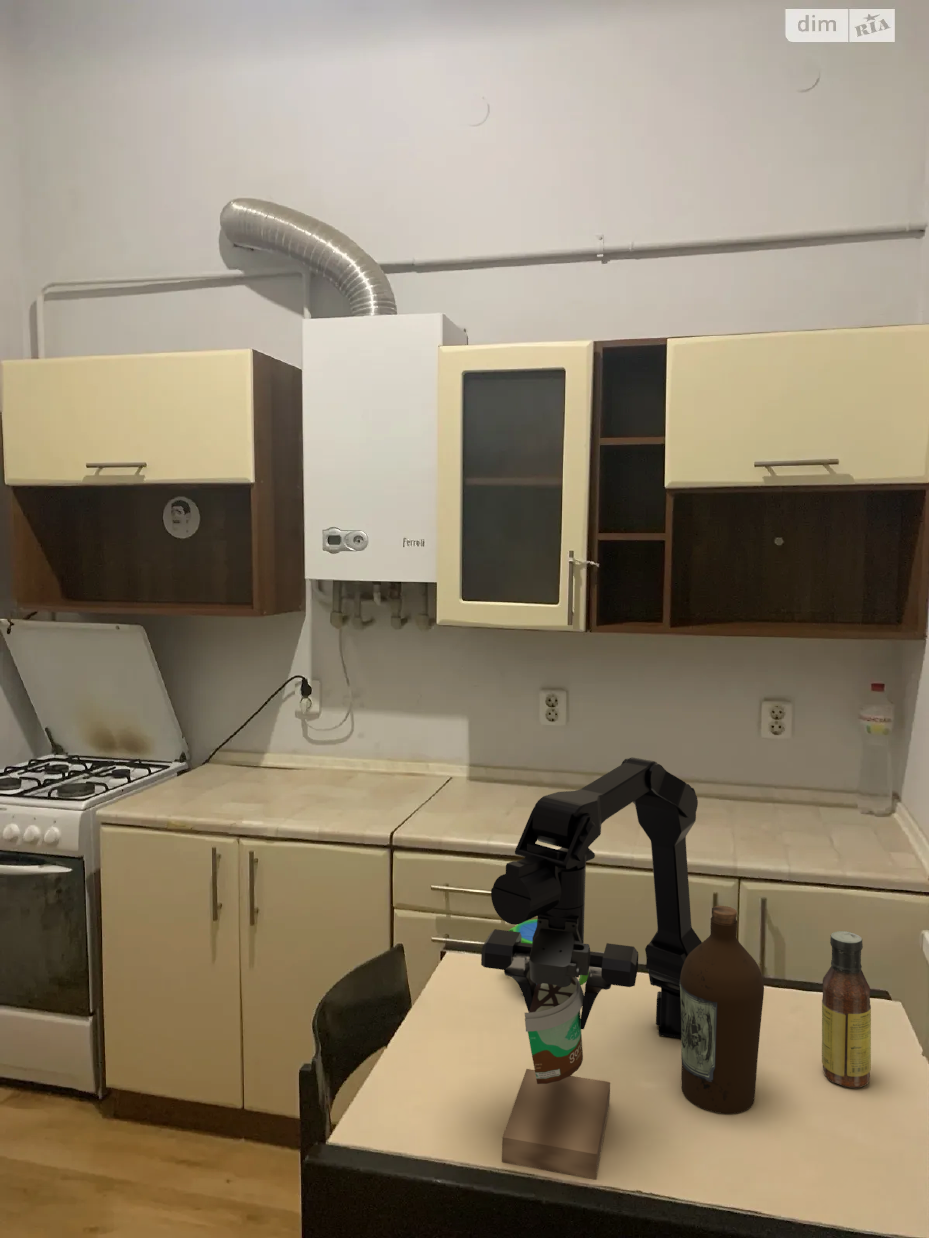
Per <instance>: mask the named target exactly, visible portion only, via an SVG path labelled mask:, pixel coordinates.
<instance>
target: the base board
mask: <svg viewBox="0 0 929 1238" xmlns="http://www.w3.org/2000/svg"><path fill="white" fill-rule="evenodd" d="M610 1094H611V1082H610V1081H605V1080H600V1079H599V1080H598V1079H593V1078H587V1077H581V1076H574V1075H571V1076H569V1077H567V1078H565V1079H563V1080H560V1081H557V1082H553V1083H548V1084H537V1080H536V1075H535V1069H531V1068H526V1070H525V1072H524V1074H523V1078H522V1081H521V1084H520V1085H519V1090H518V1092H517V1094H516V1098H515V1100H514V1103H513V1106H512V1109H511V1112H510V1115H509V1117H508V1121H507V1123H506V1126H505V1129H504V1132H503V1134H502V1137H501V1138H502V1139H501V1146H502V1147H501V1162H502V1163H505V1164H511V1165H517V1166H522V1167H528V1168H534V1169H538V1170H543V1171H544V1170H545V1171H549V1172H555V1173H560V1174H564V1175H571V1176H575V1177H581V1178H587V1179H592V1180H597V1178H598V1173H599V1172H598V1171H599V1165H600V1160H601V1153H602V1149H603V1143H604V1138H605V1131H606V1128H607V1122H608V1115H609V1109H610V1099H611V1097H610V1096H611V1095H610Z"/></svg>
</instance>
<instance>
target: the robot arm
mask: <svg viewBox="0 0 929 1238" xmlns="http://www.w3.org/2000/svg"><path fill="white" fill-rule="evenodd" d="M632 803H633V804H634V806H635V813H636V817H637V822H638V825H640V827H641V829H642V830H643V831H644V833H645V834H646V836H647V837H648V838H649V840H650V846H651V862H652V872H653V886H654V887H653V889H654V899H655V900H654V901H655V913H656V927H657V930H656V933H655V934H654V935H653V937H652V938H651V940H650V942H649V943H648V944H647V945H646V947H644V950H645V956H646V964H645V970H647V972H648V978H649V984H650V985H651V986H654V987H658V988H660V991H657V993H656V1007H655V1008H656V1009H655V1024H656V1026H658V1035H659V1036H663V1037H668V1038H669V1037H670V1038H676V1039H681V998H680V976H681V970H682V967H683V964H684V962H685V959H686V958H687V956H688V955H689V953H690V952H691V951H692V950H694V949H695V948H696V947H697V946H698V945H700V944H701V943H702V942H703V941H702V940H701V938H700V937H699V936H698V935H697V933H696V932H695V930H694V929H693V928H692V927H693V926H692V915H691V901H690V886H689V885H690V884H689V869H688V868H689V867H688V855H687V842H686V841H687V840H686V839H687V838H686V837H687V836H688V834H689V832H690V830H691V829H692V827H693V826H694V824H695V822H696V820H697V810H698V803H699V801H698V796H697V794H696V790H695V788H694V787H692V786H691V785H690V784H689V783H687V782H685V781H684V780H682V779H680V778H679V777H677V776H676V775H674V774H672V773H670V772H669V771H667V770H666V769H665V768H664V766H663V765H661V764H660V763H658V762H657V761H655V760H650V759H649V760H648V759H643V758H638V757H628V758H625V759H624V760H622V762H621V764H620V765H619V766H616V767H615V768H614V769H612V770H610V771H609V772H607V773H605V774H603V775H602V776H600V777H599V778H596V779H595V780H593V781H591V782H590V783H589V784H587V785H585V786H583V787H582V788H580V789H576V790H567V791H557V792H554V793H550V794H546V795H543V796H542V797H541V798H540V799H538V800H537V801H536V803H534V807H533V808H532V810H531V812H530V815H529V817H528V819H527V822H526V823H525V824H526V825H525V826H524V829H523V831H522V834H521V835H520V838H519V840H518V843H517V845H516V847H515V850H514V855H516V856H519V857H522V859H520V860H517V861H516V860H512V861H510V862H507V863H506V865H505V873H504V874H502V875H499V876H498V877H497V878H496V879H495V881H494V883H493V886H492V887H491V891H490V897H491V903H492V907H493V908H494V910H495V912H496V914H497V915H498V917H499V918H500V919H501V920H502V921H504V922H506V923H507V924H509V925H514V926H516V925H518V924H521V923H523V922H525V921H528V920H533V919H534V918H535V917H536V918H537V919H538V920H537V928H536V930H535V933H534V935H533V940H532V944H529V943H521V938H522V936H521V933H520V932H513V931H508V930H505V929H497V928H496V929H493V930H492V931H491V932H490V933H489V935H488V936H487V938H486V940H485V941H484V943H483V944H482V947H481V954H480V957H481V961H480V965H481V966H482V967H483V968H487V969H494V970H500V971H501V970H502V971H503V973H504V975H505V976H507V977H511V978H513V980H514V981H515V982H516V983H517V985H518V987H519V989H520V991H521V993H522V996H523V1000H524V1003H525V1006H526V1009H527V1011H528V1012H527V1013H529V1010H530V1007H531V1003H532V999H533V994H534V990H535V988H536V984H542V983H545V984H552V985H557V986H558V987H567V986H569V985H570V984H571V982H572V977H576V978H577V979H579V978H580V975H585V976H587V975H588V977H587V981H586V982H585V983H584V984H585V986H584V1000H583V1006H582V1008H581V1012H580V1018H581V1030H585V1027H586V1025H587V1022H588V1018H589V1016H590V1014H591V1010H592V1008H593V1005H594V1003H595V1001H596V998H597V997H598V996H599V993H600V992H601V991H602V990H604V991H605V990H606V991H607V990H609V989H611V987H612V986H618V987H626V988H631V987H635V986H636V982H637V981H636V980H637V976H638V969H639V952H638V950H637V949H636V948H635V946H632V945H624V944H618V943H617V944H616V943H608V942H606V945H605V948H604V951H599V950H598V951H591V948H590V944H589V943H585V942H584V941H585V940H584V939H585V909H586V907H585V905H586V902H585V901H586V876H587V875H586V873H587V870H586V869H587V862H589V861H591V860H594V858H595V857H596V853H595V852H593V850H592V849H590V848H589V847H590V846H591V845H592V844H593V843H594V842H595V841H596V840H597V839H598V838H599V837H600V836H601V833H602V824H603V823H604V822H605V821H606V820H608V819H610V818H611V817H613V816H614V815H615V814H617V813H619V812H620V811H621V810H623V809H624V808H626V807H627V806H629V805H630V804H632ZM537 841H538V842H540V843H544V844H548V845H552V846H555V847H559V848H553V847H549V846H545V845H542V844H538V843H537ZM588 971H589V974H588Z"/></svg>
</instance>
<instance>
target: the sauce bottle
mask: <svg viewBox="0 0 929 1238" xmlns="http://www.w3.org/2000/svg"><path fill="white" fill-rule="evenodd" d="M829 939H830V940H829V943H830V946H831V962H830V967H829V969H828V970H827V971H826V973H825V974H824V976H823V978H822V1000H821V1064H822V1071H823V1073H824V1076H825V1077H826V1079H828V1081H830V1082H832V1083H835V1084H837V1085H839V1086H843V1087H845V1088H851V1089H852V1088H863V1087H864V1086H867V1085H868V1083H869V1082H870V1079H871V1075H870V1074H871V1068H872V1058H871V1057H872V1040H871V1039H872V1028H871V1027H872V1007H871V987H870V985H869V983H868V981H867V979H866V977H865V974H864V972H863V970H862V968H863V967H862V962H861V961H862V950H863V947H864V946H863V938H862V936H860V935H858V934H856V933H854V932H850V931H846V930H843V931H842V930H841V931H834V932H832V933H831V934H830V938H829Z"/></svg>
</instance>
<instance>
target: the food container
mask: <svg viewBox="0 0 929 1238" xmlns="http://www.w3.org/2000/svg"><path fill="white" fill-rule="evenodd" d="M584 994H585V992H584V991H583V988H582V985H580V983H579V978H578V977H572V982H571V984H570V985H569V986H567V987H558V986H557V985H552V984H545V983H542V984H537V985H536V988H535V990H534V994H533V999H532V1003H531V1007H530V1010H529V1012H524V1025H525V1032H527V1035H528V1041H529V1042H528V1043H529V1048H530V1051H531V1057H532V1063H533V1066H534V1067H533V1070H535V1075H536V1080H537V1084H548V1083H553V1082H557V1081H560V1080H563V1079H565V1078H567V1077H569V1076H573V1074H574V1073H575V1072H577V1071H578V1070H579V1069H580V1067H581V1066H582V1063H583V1060H584V1053H583V1038H582V1029H581V1010H582V1007H583V1000H584Z"/></svg>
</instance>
